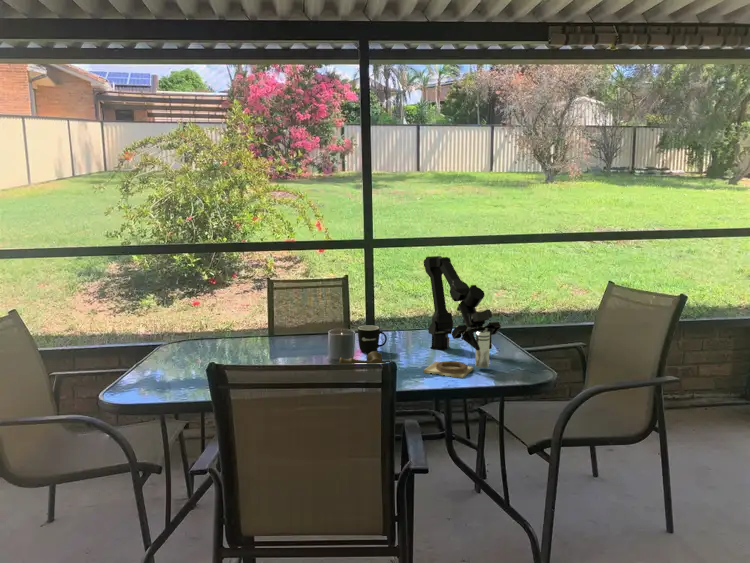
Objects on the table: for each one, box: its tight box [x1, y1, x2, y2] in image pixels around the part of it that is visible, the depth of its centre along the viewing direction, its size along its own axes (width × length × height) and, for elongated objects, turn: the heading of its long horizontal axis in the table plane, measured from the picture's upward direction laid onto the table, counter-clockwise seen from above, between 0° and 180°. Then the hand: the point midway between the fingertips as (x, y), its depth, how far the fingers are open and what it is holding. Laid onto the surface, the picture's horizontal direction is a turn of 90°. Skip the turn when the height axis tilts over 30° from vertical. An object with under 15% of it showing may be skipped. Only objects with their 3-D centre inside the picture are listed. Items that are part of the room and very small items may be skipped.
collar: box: [423, 360, 474, 379], centre depth 222 cm, size 15×12×2 cm
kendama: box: [338, 350, 391, 364], centre depth 224 cm, size 6×10×20 cm
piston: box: [474, 330, 490, 369], centre depth 222 cm, size 5×5×13 cm
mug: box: [357, 324, 388, 354], centre depth 248 cm, size 12×9×10 cm
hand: (484, 349), depth 221 cm, fingers closed on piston, 5 cm apart
